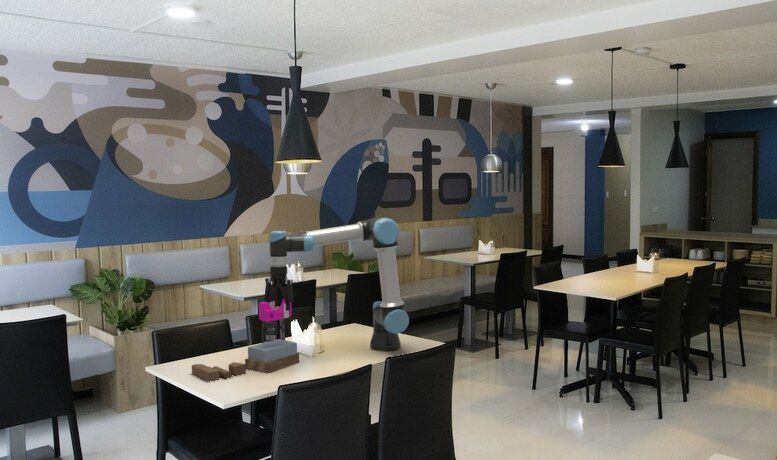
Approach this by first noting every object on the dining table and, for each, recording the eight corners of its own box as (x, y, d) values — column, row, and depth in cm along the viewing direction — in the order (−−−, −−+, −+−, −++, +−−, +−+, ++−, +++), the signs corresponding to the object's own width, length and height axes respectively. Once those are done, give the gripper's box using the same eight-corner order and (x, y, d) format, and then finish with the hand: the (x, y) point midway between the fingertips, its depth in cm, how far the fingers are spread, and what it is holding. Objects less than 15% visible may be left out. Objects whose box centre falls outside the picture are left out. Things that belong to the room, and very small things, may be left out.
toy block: (268, 321, 279) (267, 304, 278) (259, 319, 283) (259, 302, 282) (295, 316, 290) (295, 300, 289) (286, 314, 294) (286, 298, 293)
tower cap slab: (297, 353, 291) (296, 342, 290) (265, 362, 277) (265, 351, 277) (279, 349, 298) (279, 339, 298) (248, 358, 285) (247, 346, 284)
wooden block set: (209, 370, 263) (190, 362, 277) (210, 384, 264) (191, 375, 277) (246, 362, 275) (226, 354, 288) (247, 375, 275) (227, 367, 288)
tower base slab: (299, 363, 293) (299, 352, 292) (269, 374, 276) (269, 363, 275) (276, 359, 300) (275, 349, 300) (245, 370, 283) (245, 359, 283)
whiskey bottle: (287, 348, 319) (285, 284, 317) (280, 353, 310) (278, 287, 308) (267, 347, 321) (265, 284, 319) (260, 352, 311) (258, 287, 309)
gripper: (255, 265, 287) (256, 316, 289) (291, 267, 278) (292, 320, 279) (266, 263, 294) (267, 313, 295) (302, 266, 284) (302, 317, 286)
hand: (279, 316), depth 287 cm, fingers closed on toy block, 7 cm apart
